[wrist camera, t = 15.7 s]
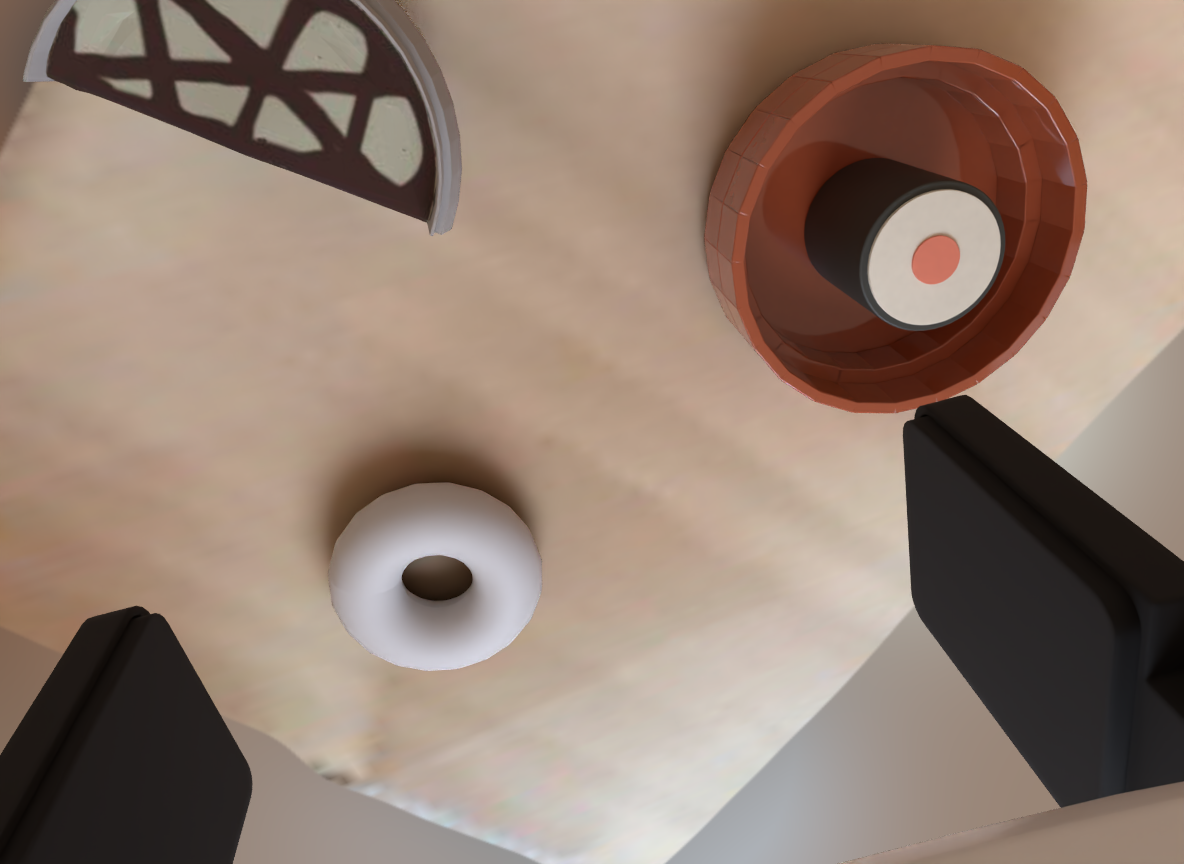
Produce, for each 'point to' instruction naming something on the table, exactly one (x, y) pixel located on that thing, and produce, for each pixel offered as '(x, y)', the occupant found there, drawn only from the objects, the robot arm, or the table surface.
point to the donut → (425, 528)
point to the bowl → (921, 139)
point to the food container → (276, 86)
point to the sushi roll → (905, 242)
